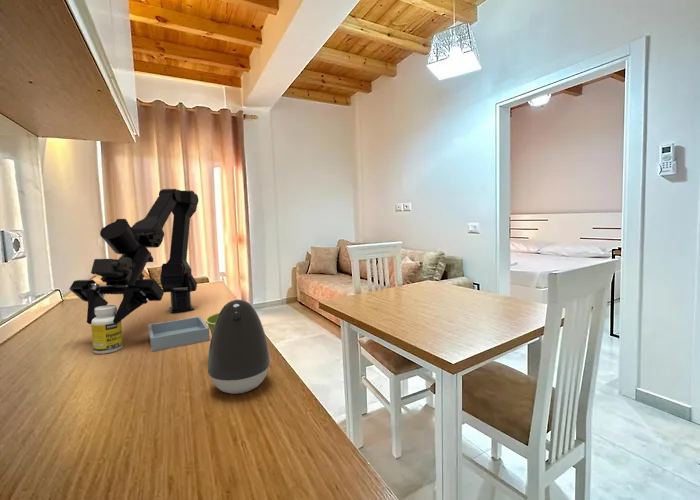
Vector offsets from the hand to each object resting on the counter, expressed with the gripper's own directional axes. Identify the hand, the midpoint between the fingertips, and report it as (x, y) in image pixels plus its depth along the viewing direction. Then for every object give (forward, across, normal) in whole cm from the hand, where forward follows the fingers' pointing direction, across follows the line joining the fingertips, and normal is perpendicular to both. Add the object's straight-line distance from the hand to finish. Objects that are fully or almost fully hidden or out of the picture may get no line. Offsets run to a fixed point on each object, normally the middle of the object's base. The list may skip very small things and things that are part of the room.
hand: (101, 323), depth 73 cm
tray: (-1, +12, +10) cm, 16 cm away
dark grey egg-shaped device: (+16, +35, -7) cm, 39 cm away
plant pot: (+7, +29, +2) cm, 30 cm away
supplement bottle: (+4, 0, +6) cm, 7 cm away
